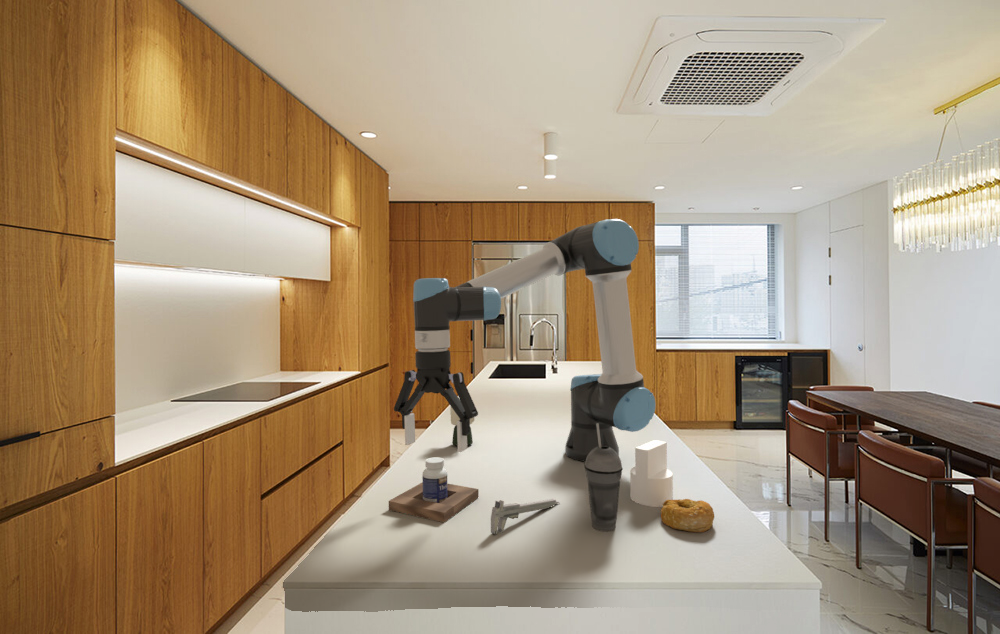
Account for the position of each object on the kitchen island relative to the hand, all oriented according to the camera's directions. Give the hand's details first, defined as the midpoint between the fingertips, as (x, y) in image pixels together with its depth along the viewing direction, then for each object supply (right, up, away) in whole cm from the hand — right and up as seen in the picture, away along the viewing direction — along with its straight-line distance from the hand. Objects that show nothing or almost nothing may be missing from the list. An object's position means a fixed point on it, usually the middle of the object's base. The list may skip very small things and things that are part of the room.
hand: (435, 446), depth 108 cm
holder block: (0, -13, 0) cm, 13 cm away
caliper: (+20, -13, -7) cm, 25 cm away
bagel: (+51, -13, -10) cm, 53 cm away
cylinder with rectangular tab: (+48, -12, +2) cm, 49 cm away
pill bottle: (0, -13, 0) cm, 13 cm away
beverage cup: (+34, -13, -11) cm, 38 cm away
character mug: (+2, -12, +46) cm, 47 cm away
